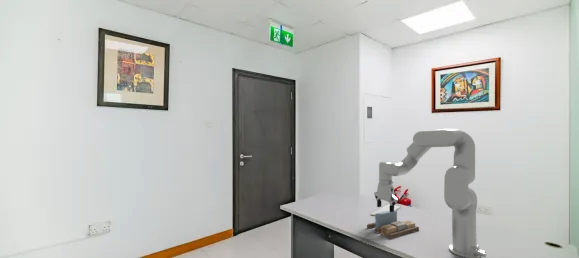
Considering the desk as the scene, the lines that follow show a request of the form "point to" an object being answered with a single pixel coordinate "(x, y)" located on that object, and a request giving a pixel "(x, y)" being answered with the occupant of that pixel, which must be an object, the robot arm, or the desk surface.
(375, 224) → the offcut rack
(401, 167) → the robot arm
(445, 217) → the desk surface
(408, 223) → the offcut
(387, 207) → the baseboard molding
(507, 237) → the desk surface
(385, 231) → the offcut
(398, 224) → the offcut
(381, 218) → the tall sheet
